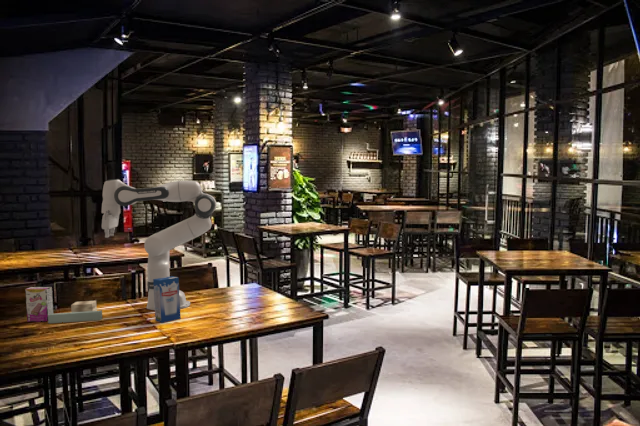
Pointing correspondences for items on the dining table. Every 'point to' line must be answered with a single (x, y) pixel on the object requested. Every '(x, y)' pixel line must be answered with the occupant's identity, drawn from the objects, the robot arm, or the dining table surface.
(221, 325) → the dining table surface
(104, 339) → the dining table surface
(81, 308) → the block
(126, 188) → the robot arm
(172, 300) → the milk carton
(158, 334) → the dining table surface
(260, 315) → the dining table surface
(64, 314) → the pale grey bar
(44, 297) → the candy bar box
